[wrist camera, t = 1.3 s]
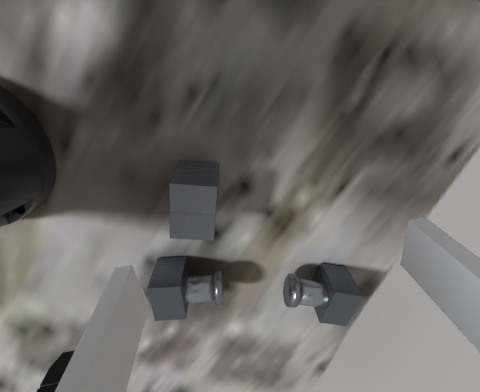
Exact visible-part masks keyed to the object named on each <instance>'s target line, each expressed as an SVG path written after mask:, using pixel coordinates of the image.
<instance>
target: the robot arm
mask: <svg viewBox="0 0 480 392" xmlns="http://www.w3.org/2000/svg"><path fill="white" fill-rule="evenodd" d="M54 180H55V160H54V155H53V151H52V148H51V145H50V143H49V140H48V138H47V136H46V134H45V133H44V131H43V129H42V128H41V126H40V125H39V123H38V122H37V120H36V119H35V118H34V116H33V115H32V114H31V113H30V112H29V111H28V110H27V108H26V107H25V106H24V105H23V104H22V103H20V102H19V101H18V100H17V99H16V98H15V97H14V96H12V95H11V94H10V93H9V92H7V91H6V90H4V89H3V88H2V87H0V227H1V226H4V225H8V224H11V223H13V222H15V221H17V220H19V219H21V218H23V217H25V216H26V215H27V214H29V213H30V212H31V211H33V210H34V209H35V208H37V207H38V206H39V205H41V204H42V203H43V202H44V201H45V199H46V198H47V197H48V195H49V194H50V192H51V190H52V187H53V184H54ZM401 266H402V267H403V268H404V269H405V270H406V271H407V272H408V273H409V274H410V275H411V277H412V278H413V279H414V280H415V281H416V282H417V283H418V284H419V285H420V287H421V288H422V289H423V290H424V291H425V292H426V293H427V294H428V295H429V297H430V298H431V299H432V300H433V301H434V302H435V303H436V304H437V306H438V307H439V308H440V309H441V310H442V311H443V312H444V313H445V314H446V315H447V317H448V318H449V319H450V320H451V321H452V322H453V323H454V324H455V325H456V327H457V328H458V329H459V330H460V331H461V332H462V333H463V334H464V335H465V336H466V338H467V339H468V340H469V341H470V342H471V343H472V344H473V345H474V346H475V348H476V349H477V350H478V351H479V352H480V258H478V257H477V256H476V255H474V254H473V253H472V252H470V251H469V250H468V249H466V248H465V247H464V246H462V245H461V244H460V243H458V242H457V241H456V240H454V239H453V238H452V237H450V236H449V235H448V234H446V233H445V232H444V231H442V230H441V229H440V228H438V227H437V226H436V225H434V224H433V223H432V222H430V221H429V220H428V219H426V218H425V217H423V218H417V219H411V220H409V221H408V226H407V231H406V237H405V242H404V248H403V253H402V259H401ZM148 309H149V304H148V302H147V299H146V297H145V295H144V292H143V290H142V288H141V286H140V283H139V281H138V279H137V276H136V274H135V272H134V270H133V267H132V265H130V266H124V267H118V268H115V270H114V272H113V274H112V276H111V278H110V280H109V282H108V284H107V286H106V288H105V290H104V292H103V294H102V296H101V298H100V300H99V302H98V304H97V306H96V308H95V311H94V313H93V315H92V317H91V319H90V321H89V323H88V325H87V327H86V329H85V331H84V333H83V335H82V337H81V339H80V341H79V343H78V345H77V347H76V349H75V351H70V352H64V353H62V354H61V356H60V357H59V358H58V359H57V360H56V361H55V362H54V364H53V365H52V366H51V367H50V368H49V370H48V372H47V374H46V376H45V377H44V379H43V381H42V383H41V385H40V389H38V390H37V392H126V389H127V385H128V381H129V378H130V374H131V370H132V367H133V363H134V359H135V356H136V352H137V349H138V345H139V341H140V338H141V334H142V330H143V327H144V323H145V319H146V316H147V312H148Z"/></svg>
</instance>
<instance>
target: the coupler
mask: <svg viewBox="0 0 480 392" xmlns="http://www.w3.org/2000/svg"><path fill="white" fill-rule="evenodd" d="M218 171H219V164H218V163H206V162H194V161H182V160H180V162H179V164H178V166H177V168H176V170H175V173H174V175H173V177H172V179H171V181H170V183H169V195H170V238H177V239H195V240H213V241H214V228H215V215H216V201H217V188H218Z"/></svg>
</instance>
